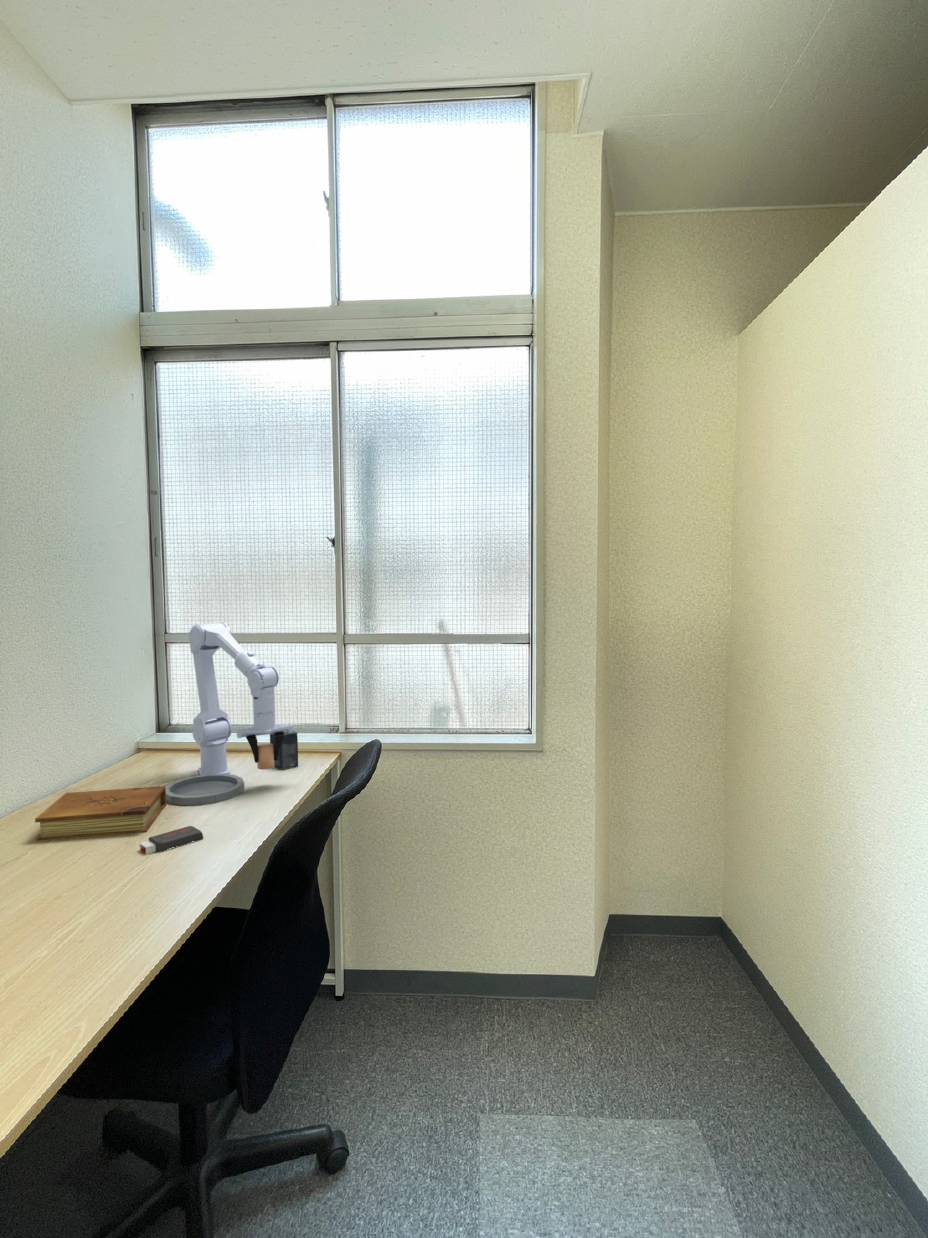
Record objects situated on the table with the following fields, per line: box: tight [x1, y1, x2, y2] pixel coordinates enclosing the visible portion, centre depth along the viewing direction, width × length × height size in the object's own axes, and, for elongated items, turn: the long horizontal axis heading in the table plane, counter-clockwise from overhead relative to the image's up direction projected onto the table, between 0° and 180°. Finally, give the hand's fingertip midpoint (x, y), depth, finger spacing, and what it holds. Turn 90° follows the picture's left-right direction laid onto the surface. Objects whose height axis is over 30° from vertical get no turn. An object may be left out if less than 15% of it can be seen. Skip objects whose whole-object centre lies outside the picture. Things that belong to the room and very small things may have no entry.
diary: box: [34, 785, 167, 842], centre depth 164 cm, size 23×19×6 cm
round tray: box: [165, 774, 245, 806], centre depth 185 cm, size 20×20×2 cm
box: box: [269, 730, 299, 770], centre depth 209 cm, size 8×6×11 cm
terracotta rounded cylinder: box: [256, 742, 276, 770], centre depth 189 cm, size 4×4×6 cm
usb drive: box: [139, 825, 204, 855], centre depth 150 cm, size 5×12×3 cm, turn 136°
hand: (265, 760), depth 189 cm, fingers closed on terracotta rounded cylinder, 4 cm apart
